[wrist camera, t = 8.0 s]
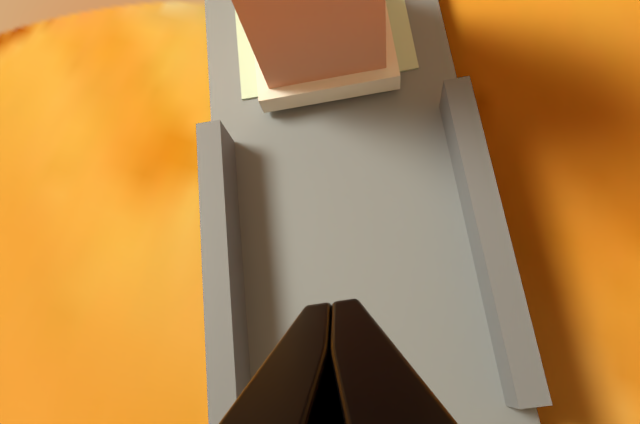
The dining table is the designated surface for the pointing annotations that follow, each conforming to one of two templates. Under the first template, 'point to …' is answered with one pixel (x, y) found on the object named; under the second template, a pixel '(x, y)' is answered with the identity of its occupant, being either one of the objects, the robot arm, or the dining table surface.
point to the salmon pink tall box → (319, 50)
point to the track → (363, 224)
